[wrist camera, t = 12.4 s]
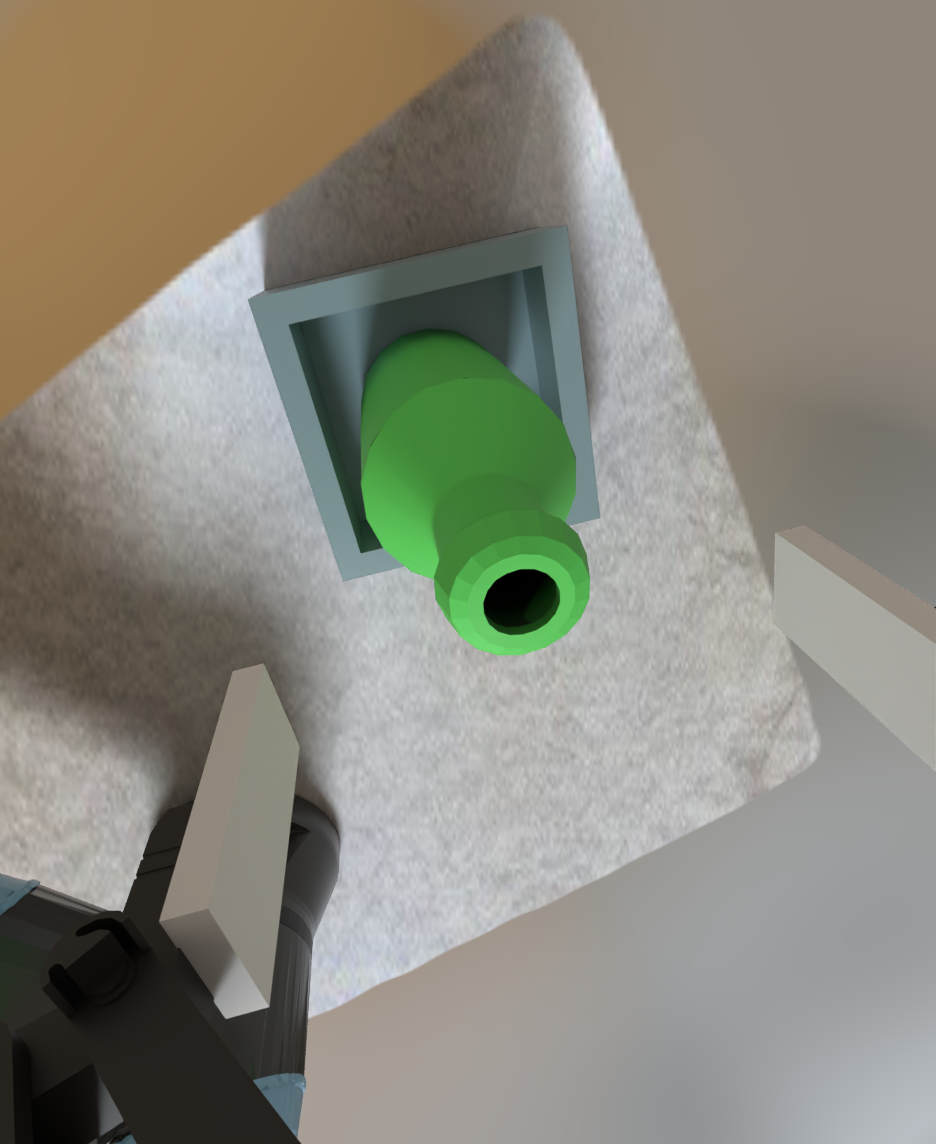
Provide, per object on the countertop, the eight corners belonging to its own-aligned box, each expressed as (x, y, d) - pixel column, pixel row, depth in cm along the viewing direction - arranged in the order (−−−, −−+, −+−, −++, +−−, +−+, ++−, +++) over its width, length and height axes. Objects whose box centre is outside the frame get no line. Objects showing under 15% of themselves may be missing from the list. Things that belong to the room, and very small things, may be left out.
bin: (345, 540, 44) (343, 581, 39) (264, 290, 37) (247, 299, 32) (572, 484, 45) (600, 517, 40) (538, 227, 37) (567, 225, 32)
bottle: (486, 308, 38) (658, 406, 16) (517, 448, 42) (688, 679, 20) (340, 350, 38) (311, 507, 16) (386, 486, 42) (413, 761, 20)
